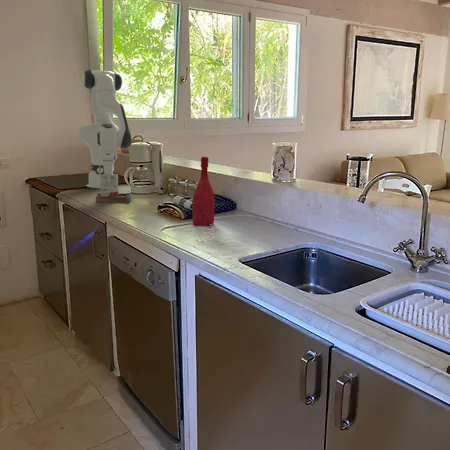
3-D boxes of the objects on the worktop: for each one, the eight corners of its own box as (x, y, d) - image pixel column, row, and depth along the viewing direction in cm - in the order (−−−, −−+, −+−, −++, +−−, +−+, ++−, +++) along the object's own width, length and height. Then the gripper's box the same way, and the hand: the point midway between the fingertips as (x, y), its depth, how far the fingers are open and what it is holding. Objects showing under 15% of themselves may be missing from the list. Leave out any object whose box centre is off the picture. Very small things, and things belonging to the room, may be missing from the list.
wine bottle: (217, 222, 210) (219, 156, 203) (209, 227, 201) (211, 158, 194) (197, 220, 213) (198, 155, 206) (188, 225, 204) (189, 157, 197)
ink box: (118, 195, 253) (118, 174, 251) (116, 197, 248) (115, 175, 246) (103, 195, 254) (103, 173, 251) (100, 196, 249) (100, 174, 246)
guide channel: (97, 198, 256) (97, 189, 254) (130, 198, 259) (130, 189, 258) (95, 202, 246) (95, 193, 244) (130, 202, 249) (130, 193, 248)
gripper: (104, 153, 255) (105, 178, 259) (101, 157, 236) (102, 184, 239) (116, 153, 256) (116, 178, 260) (113, 157, 237) (114, 184, 240)
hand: (109, 181), depth 249 cm, fingers closed on ink box, 5 cm apart
